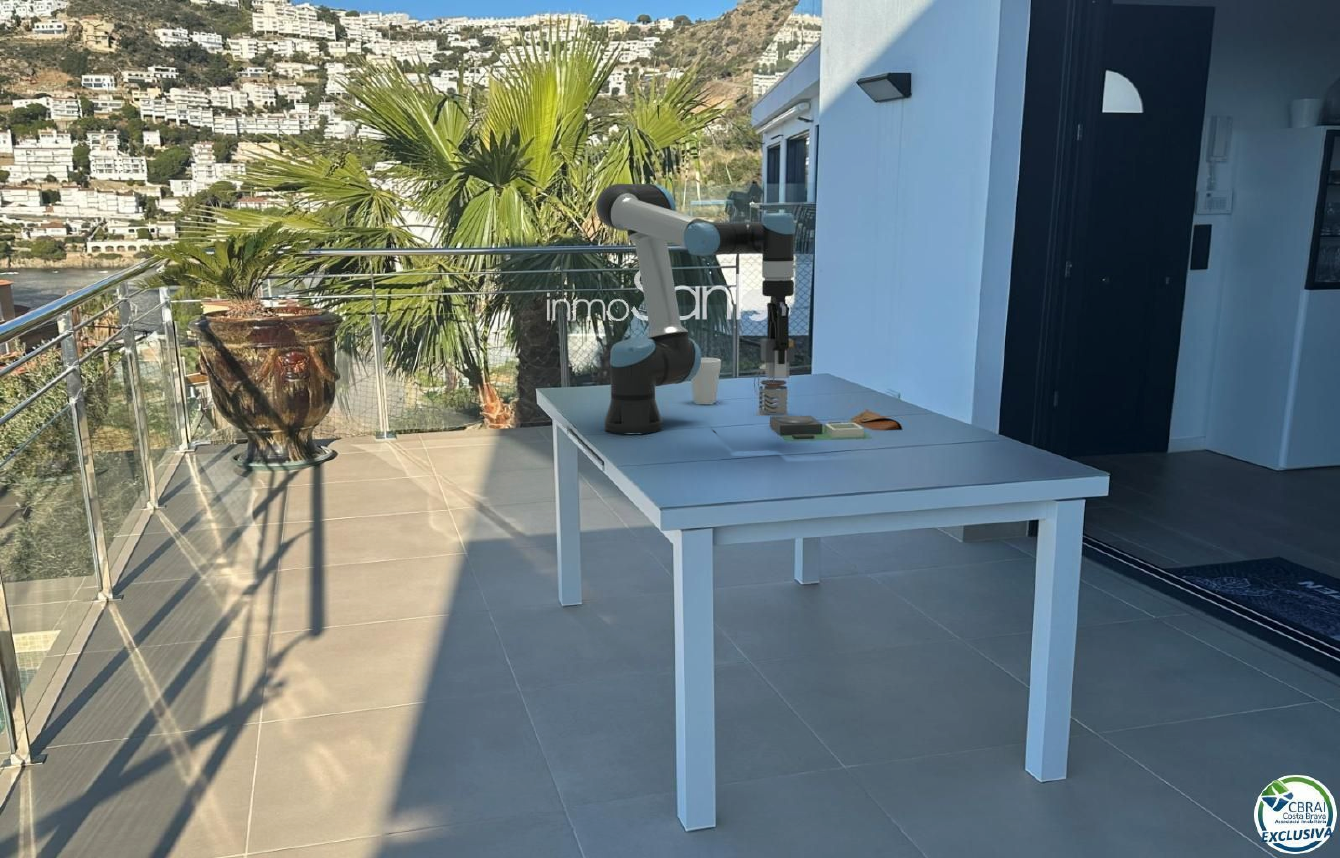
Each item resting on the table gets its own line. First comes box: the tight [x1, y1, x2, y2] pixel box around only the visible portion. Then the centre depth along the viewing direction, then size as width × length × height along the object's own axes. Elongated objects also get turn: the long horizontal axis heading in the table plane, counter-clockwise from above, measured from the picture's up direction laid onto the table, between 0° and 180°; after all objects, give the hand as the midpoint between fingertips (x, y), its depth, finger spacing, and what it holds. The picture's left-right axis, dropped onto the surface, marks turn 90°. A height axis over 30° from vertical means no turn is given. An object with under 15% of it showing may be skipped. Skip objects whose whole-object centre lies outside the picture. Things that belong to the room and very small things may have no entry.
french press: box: [753, 363, 789, 416], centre depth 286 cm, size 10×12×25 cm
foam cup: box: [690, 357, 722, 405], centre depth 307 cm, size 10×9×13 cm
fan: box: [769, 415, 824, 436], centre depth 264 cm, size 11×11×3 cm
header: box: [824, 422, 865, 438], centre depth 258 cm, size 8×7×2 cm
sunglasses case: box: [849, 409, 903, 431], centre depth 271 cm, size 18×7×7 cm, turn 19°
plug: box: [760, 337, 796, 379], centre depth 249 cm, size 7×6×9 cm
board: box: [774, 421, 873, 442], centre depth 261 cm, size 22×18×3 cm
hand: (777, 375), depth 249 cm, fingers closed on plug, 6 cm apart
